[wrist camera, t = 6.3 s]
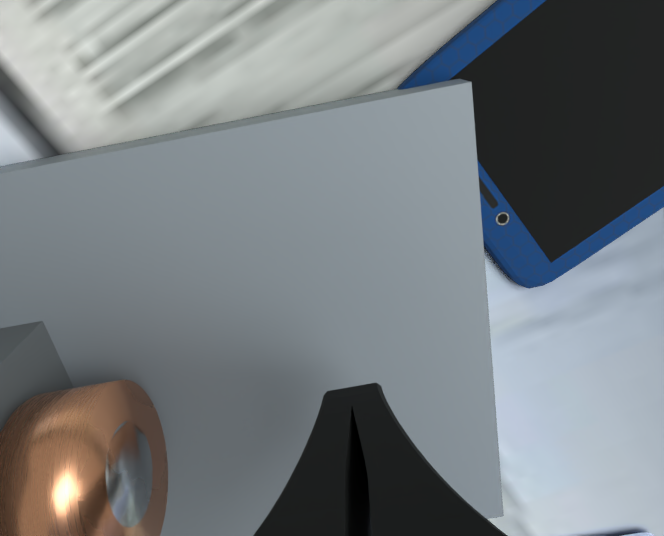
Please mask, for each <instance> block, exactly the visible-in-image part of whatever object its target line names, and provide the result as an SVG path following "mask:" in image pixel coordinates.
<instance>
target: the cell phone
mask: <svg viewBox="0 0 664 536" xmlns="http://www.w3.org/2000/svg"><path fill="white" fill-rule="evenodd" d="M454 79H463V80H467V81H470V82H472V94H473V108H474V122H475V135H476V149H477V162H478V176H479V190H480V203H481V217H482V230H483V244H484V247H485V248H486V249H487V251H488V252H489V253H490V255H491V256H492V257H493V259H494V260H495V261H496V263H497V264H498V265H499V266H500V268H501V269H502V270H503V271H504V272H505V273H506V274H507V275H508V276H509V277H510V278H511V279H512V280H513V281H515V282H516V283H517V284H518V285H521V286H524V287H526V288H533V287H538V286H543V285H545V284H547V283H549V282H552V281H553V280H555V279H556V278H558V277H559V276H561V275H563V274H564V273H566V272H567V271H569V270H570V269H572V268H574V267H575V266H577V265H578V264H580V263H581V262H583V261H584V260H586V259H587V258H589V257H590V256H592V255H593V254H595V253H596V252H598V251H599V250H601V249H602V248H603V247H605V246H606V245H608V244H609V243H611V242H612V241H614V240H615V239H617V238H618V237H620V236H621V235H623V234H624V233H626V232H627V231H629V230H630V229H632V228H633V227H635V226H636V225H638V224H639V223H641V222H642V221H644V220H645V219H646V218H648V217H649V216H651V215H652V214H654V213H655V212H657V211H658V210H660V209H661V208H663V207H664V0H497V1H496V2H495V3H494V4H492V5H491V6H490V7H489V8H488V9H486V10H485V11H484V12H483V13H482V14H481V15H479V16H478V17H477V18H476V19H475V20H473V21H472V22H471V23H470V24H469V25H467V26H466V27H465V28H464V29H463V30H462V31H460V32H459V33H458V34H457V35H456V36H454V37H453V38H452V39H451V40H450V41H448V42H447V43H446V44H445V45H444V46H443V47H441V48H440V49H439V50H438V51H437V52H435V53H434V54H433V55H432V56H431V57H430V58H429V59H428V60H426V61H425V62H424V63H423V64H422V65H421V66H420V67H419V68H418V69H416V70H415V71H414V72H413V73H412V74H411V75H410V76H409V77H408V78H407V79H406V80H405V81H404V82H403V83H402V84H401V85H400V86H399V87H398V88H397V89H398V90H402V89H408V88H413V87H418V86H423V85H429V84H434V83H439V82H444V81H449V80H454Z"/></svg>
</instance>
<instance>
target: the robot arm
mask: <svg viewBox="0 0 664 536" xmlns="http://www.w3.org/2000/svg"><path fill="white" fill-rule="evenodd" d="M253 536H507V535H506V534H504V533H503V532H502V531H500V530H499V529H498V528H497V527H496V526H494V525H493V524H492V523H491V522H490V521H488V520H487V519H486V518H485V517H484V516H483V515H481V514H480V513H479V512H478V511H477V510H475V509H474V508H473V507H472V506H471V505H470V504H468V503H467V502H466V501H465V500H464V499H463V498H462V497H461V496H460V495H459V494H458V493H457V492H456V491H455V490H454V489H453V488H452V487H451V486H450V485H449V484H448V483H447V482H446V481H445V480H444V479H443V478H442V477H441V476H440V475H439V473H438V472H437V471H436V470H435V469H434V468H433V467H432V466H431V464H430V463H429V462H428V461H427V460H426V458H425V457H424V456H423V455H422V453H421V452H420V451H419V450H418V448H417V447H416V446H415V444H414V443H413V442H412V440H411V439H410V438H409V436H408V435H407V433H406V432H405V430H404V429H403V427H402V426H401V425H400V423H399V421H398V420H397V418H396V417H395V415H394V413H393V411H392V410H391V408H390V406H389V404H388V402H387V400H386V398H385V396H384V393H383V390H382V387H381V385H379V384H378V383H371V384H365V385H359V386H353V387H348V388H342V389H336V390H330V391H327V392H326V393H325V394H324V396H323V400H322V404H321V407H320V410H319V413H318V416H317V419H316V421H315V424H314V427H313V429H312V432H311V434H310V436H309V439H308V441H307V443H306V446H305V448H304V450H303V453H302V455H301V457H300V459H299V461H298V463H297V465H296V467H295V469H294V471H293V473H292V475H291V477H290V479H289V480H288V482H287V484H286V486H285V488H284V489H283V491H282V493H281V495H280V496H279V498H278V500H277V501H276V503H275V504H274V506H273V508H272V509H271V511H270V512H269V514H268V515H267V517H266V518H265V520H264V521H263V523H262V524H261V525H260V527H259V528H258V530H257V531H256V532H255V534H254V535H253ZM621 536H654V535H653V534H651V533H648V532H642V533H635V534H628V535H621Z"/></svg>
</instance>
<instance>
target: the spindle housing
mask: <svg viewBox="0 0 664 536" xmlns="http://www.w3.org/2000/svg"><path fill="white" fill-rule="evenodd" d="M118 380H130V381H133V382H135V383H137V384H138V385H139V386H140V387H142V389H143V390H144V391H145V392H146V393H147V395H148V396H149V397H150V399H151V401H152V403H153V404H154V407H155V409H156V411H157V414H158V416H159V419H160V422H161V426H162V429H163V434H164V439H165V444H166V451H167V461H168V495H167V505H166V512H165V518H164V522H163V527H162V530H161V534H160V536H253V535H254V534H255V532H256V531H257V530H258V528H259V527H260V525H261V524H262V523H263V521H264V520H265V518H266V517H267V515H268V514H269V512H270V511H271V509H272V508H273V506H274V504H275V503H276V501H277V500H278V498H279V496H280V495H281V493H282V491H283V489H284V488H285V486H286V484H287V482H288V480H289V479H290V477H291V475H292V473H293V471H294V469H295V467H296V465H297V463H298V461H299V459H300V457H301V455H302V453H303V450H304V448H305V446H306V443H307V441H308V439H309V436H310V434H311V432H312V429H313V427H314V424H315V421H316V419H317V416H318V413H319V410H320V407H321V404H322V400H323V396H324V394H325V393H326V392H327V391H330V390H336V389H342V388H348V387H353V386H359V385H365V384H371V383H378V384H379V385H381V387H382V390H383V393H384V396H385V398H386V400H387V402H388V404H389V406H390V408H391V410H392V411H393V413H394V415H395V417H396V418H397V420H398V421H399V423H400V425H401V426H402V427H403V429H404V430H405V432H406V433H407V435H408V436H409V438H410V439H411V440H412V442H413V443H414V444H415V446H416V447H417V448H418V450H419V451H420V452H421V453H422V455H423V456H424V457H425V458H426V460H427V461H428V462H429V463H430V464H431V466H432V467H433V468H434V469H435V470H436V471H437V472H438V473H439V475H440V476H441V477H442V478H443V479H444V480H445V481H446V482H447V483H448V484H449V485H450V486H451V487H452V488H453V489H454V490H455V491H456V492H457V493H458V494H459V495H460V496H461V497H462V498H463V499H464V500H465V501H466V502H467V503H468V504H470V505H471V506H472V507H473V508H474V509H475V510H477V511H478V512H479V513H480V514H481V515H483V516H484V517H485V518H486V519H488V518H495V517H501V516H503V502H502V489H501V475H500V462H499V448H498V434H497V421H496V407H495V394H494V380H493V366H492V353H491V339H490V326H489V312H488V298H487V285H486V271H485V258H484V244H483V230H482V217H481V203H480V190H479V176H478V162H477V149H476V135H475V122H474V108H473V94H472V82H470V81H467V80H463V79H454V80H449V81H444V82H439V83H434V84H429V85H423V86H418V87H413V88H408V89H402V90H398V89H395V90H390V91H385V92H380V93H375V94H369V95H364V96H359V97H354V98H349V99H344V100H339V101H334V102H329V103H323V104H318V105H313V106H308V107H303V108H298V109H293V110H288V111H282V112H277V113H272V114H267V115H262V116H257V117H252V118H247V119H242V120H236V121H231V122H226V123H221V124H216V125H211V126H206V127H201V128H196V129H190V130H185V131H180V132H175V133H170V134H165V135H160V136H155V137H149V138H144V139H139V140H134V141H129V142H124V143H119V144H114V145H109V146H103V147H98V148H93V149H88V150H83V151H78V152H73V153H68V154H63V155H57V156H52V157H47V158H42V159H37V160H32V161H27V162H22V163H16V164H11V165H6V166H1V167H0V433H1V431H2V429H3V427H4V426H5V424H6V422H7V421H8V419H9V418H10V417H11V415H12V414H13V413H14V412H15V410H16V409H17V408H18V407H19V406H20V405H21V404H23V403H24V402H25V401H26V400H28V399H30V398H32V397H33V396H36V395H39V394H42V393H48V392H54V391H59V390H65V389H71V388H77V387H83V386H89V385H94V384H100V383H106V382H112V381H118Z"/></svg>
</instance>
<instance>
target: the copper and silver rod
mask: <svg viewBox="0 0 664 536" xmlns="http://www.w3.org/2000/svg"><path fill="white" fill-rule="evenodd" d="M167 495H168V461H167V451H166V444H165V439H164V434H163V429H162V426H161V422H160V419H159V416H158V414H157V411H156V409H155V407H154V404H153V403H152V401H151V399H150V397H149V396H148V395H147V393H146V392H145V391H144V390H143V389H142V387H140V386H139V385H138V384H137V383H135V382H133V381H130V380H118V381H112V382H106V383H100V384H94V385H89V386H83V387H77V388H71V389H65V390H59V391H54V392H48V393H42V394H39V395H36V396H33V397H32V398H30V399H28V400H26V401H25V402H24V403H23V404H21V405H20V406H19V407H18V408H17V409H16V410H15V412H14V413H13V414H12V415H11V417H10V418H9V419H8V421H7V422H6V424H5V426H4V427H3V429H2V431H1V433H0V536H160V534H161V530H162V527H163V522H164V518H165V512H166V505H167Z"/></svg>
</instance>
